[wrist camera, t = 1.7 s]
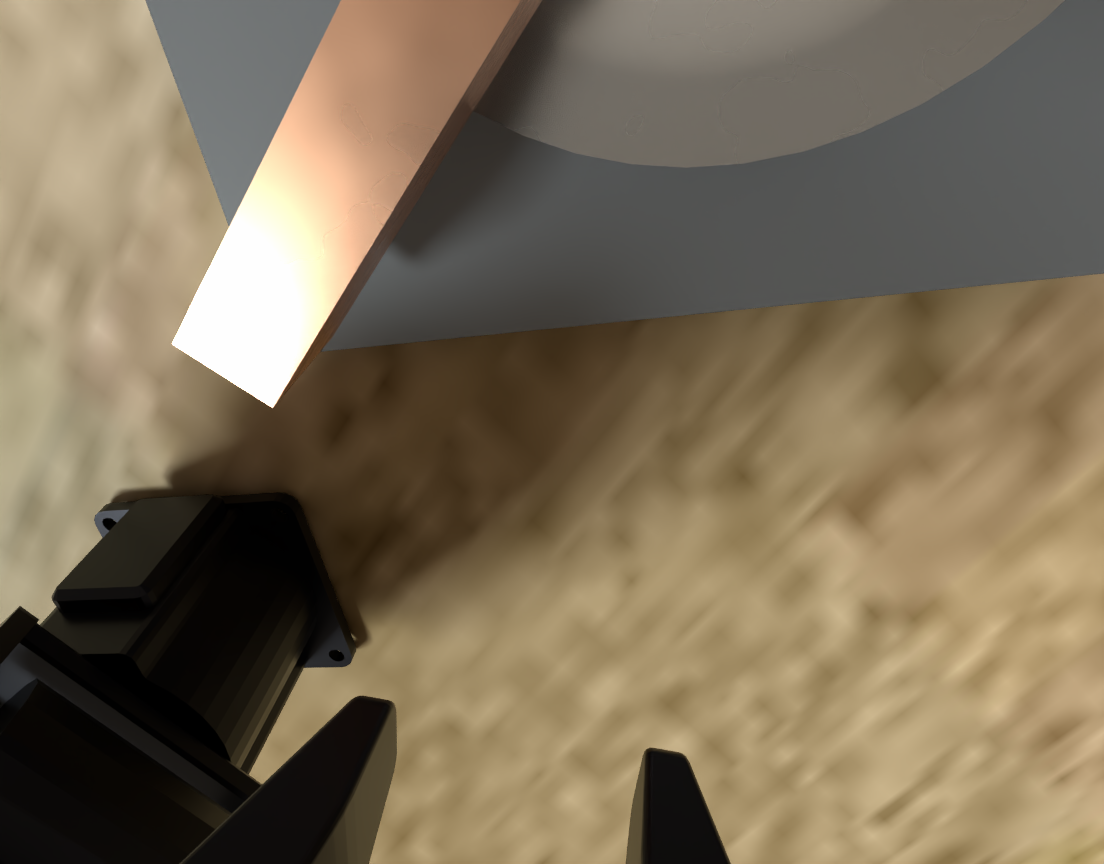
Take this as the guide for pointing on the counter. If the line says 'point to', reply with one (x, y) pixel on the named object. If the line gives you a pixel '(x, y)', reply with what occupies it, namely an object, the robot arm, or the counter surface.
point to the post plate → (688, 193)
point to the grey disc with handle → (545, 124)
